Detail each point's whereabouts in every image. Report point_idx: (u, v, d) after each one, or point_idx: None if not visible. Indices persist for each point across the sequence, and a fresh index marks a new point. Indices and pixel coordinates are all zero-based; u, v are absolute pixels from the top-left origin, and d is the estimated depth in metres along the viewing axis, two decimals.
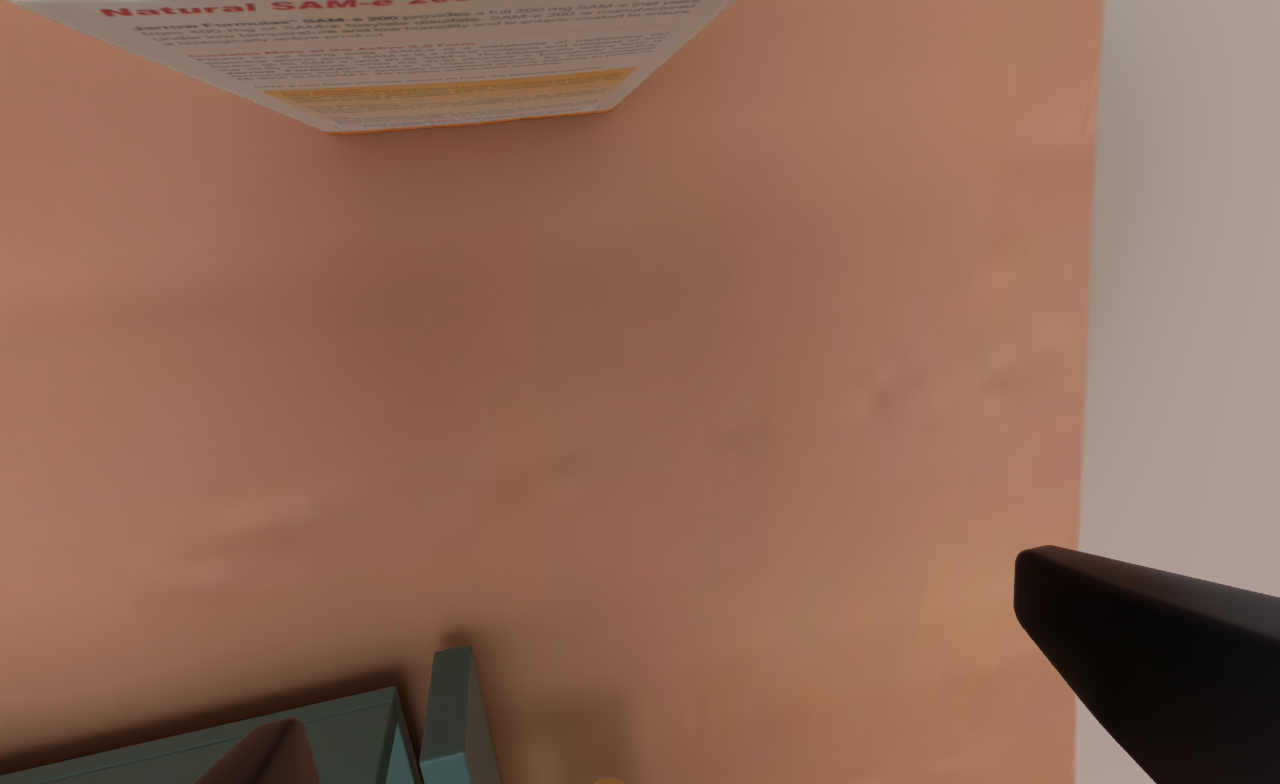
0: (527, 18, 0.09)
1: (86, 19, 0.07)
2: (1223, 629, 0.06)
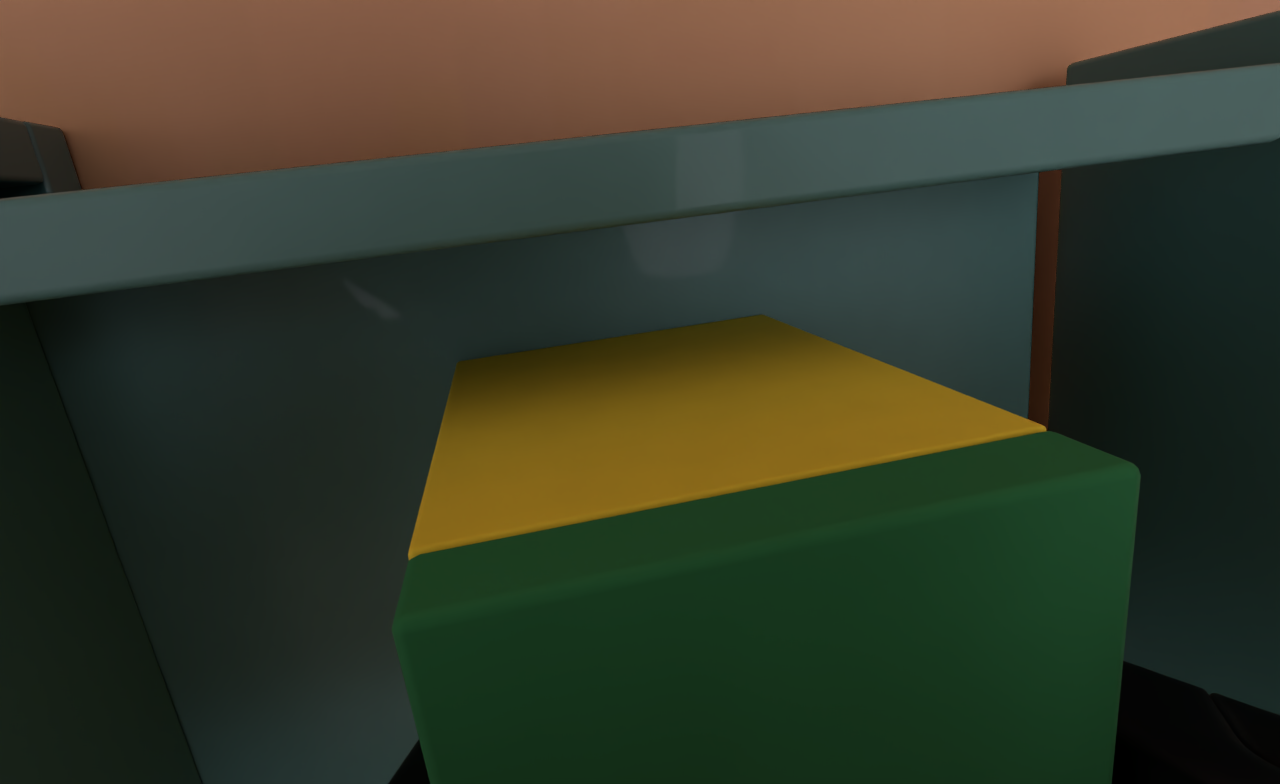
0: None
1: None
2: None
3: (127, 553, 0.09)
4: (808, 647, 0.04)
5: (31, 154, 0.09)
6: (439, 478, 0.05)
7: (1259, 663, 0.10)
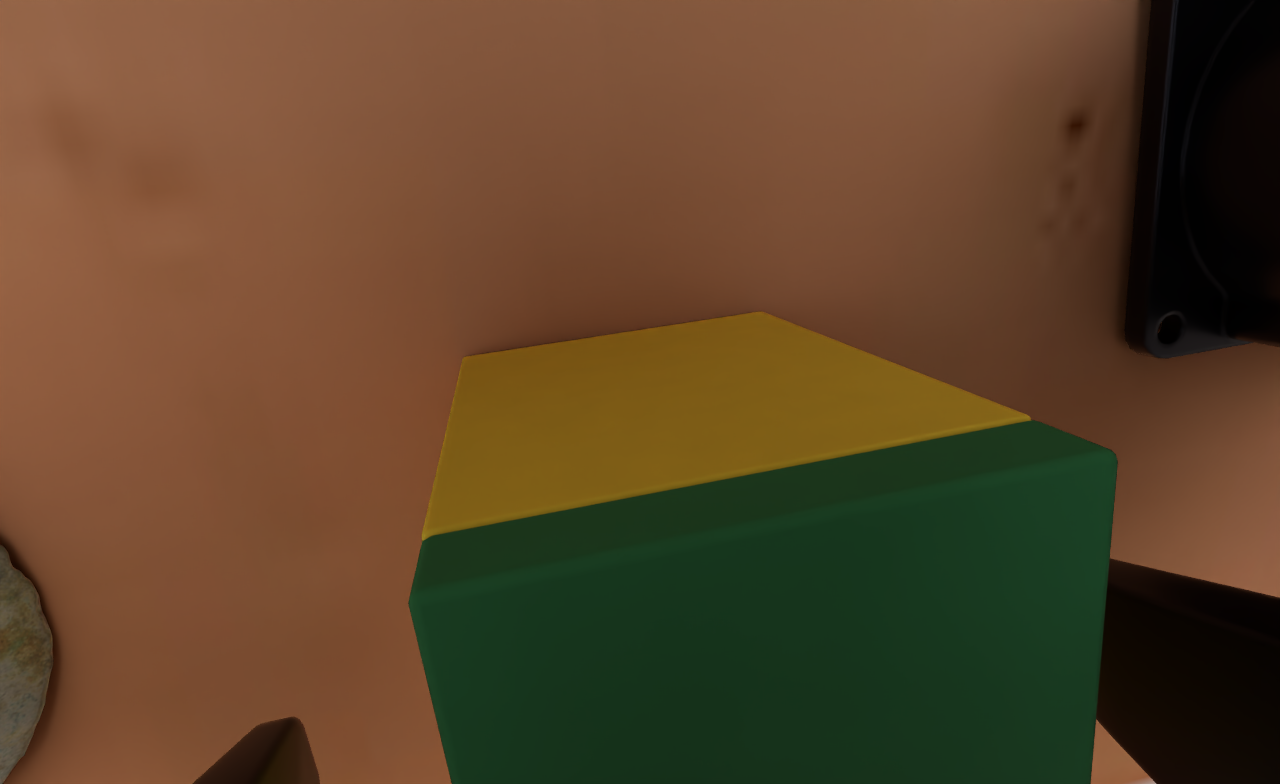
0: None
1: None
2: (1222, 629, 0.06)
3: None
4: (801, 623, 0.04)
5: None
6: (449, 466, 0.06)
7: None
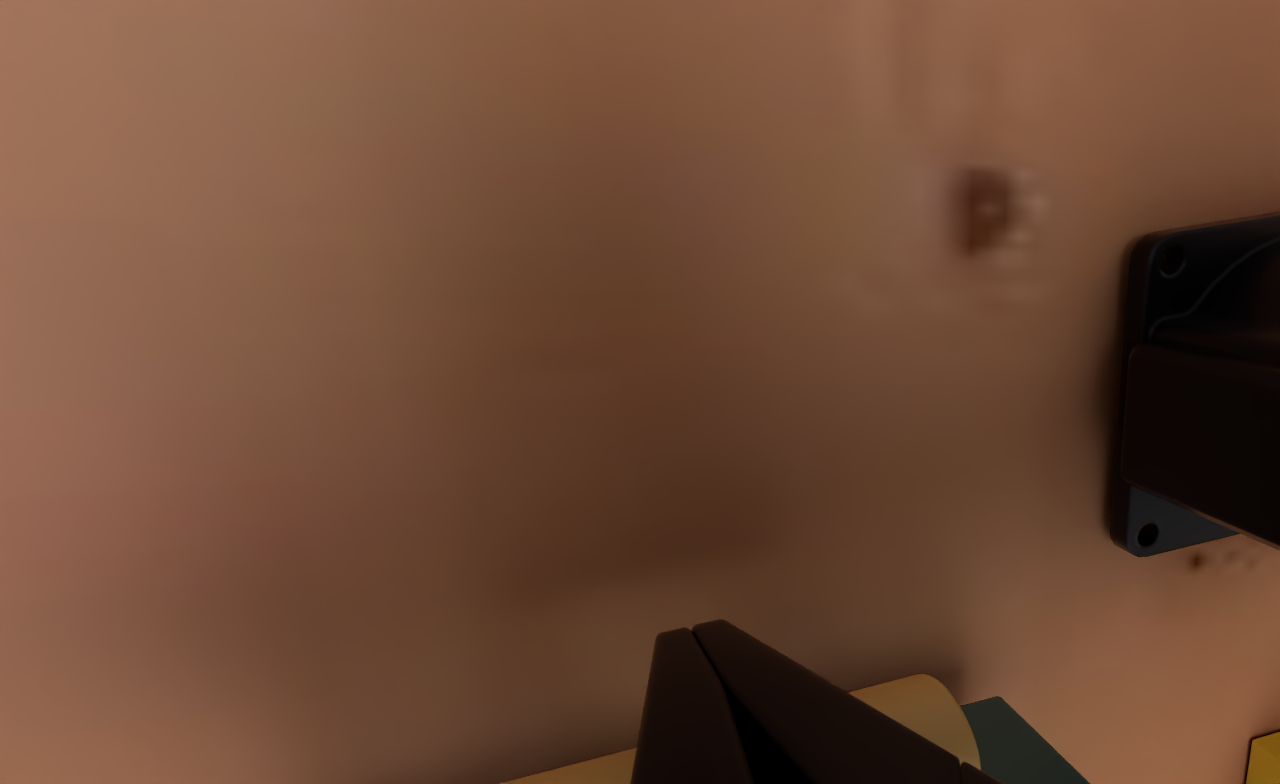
0: None
1: None
2: (781, 745, 0.06)
3: None
4: None
5: None
6: None
7: None
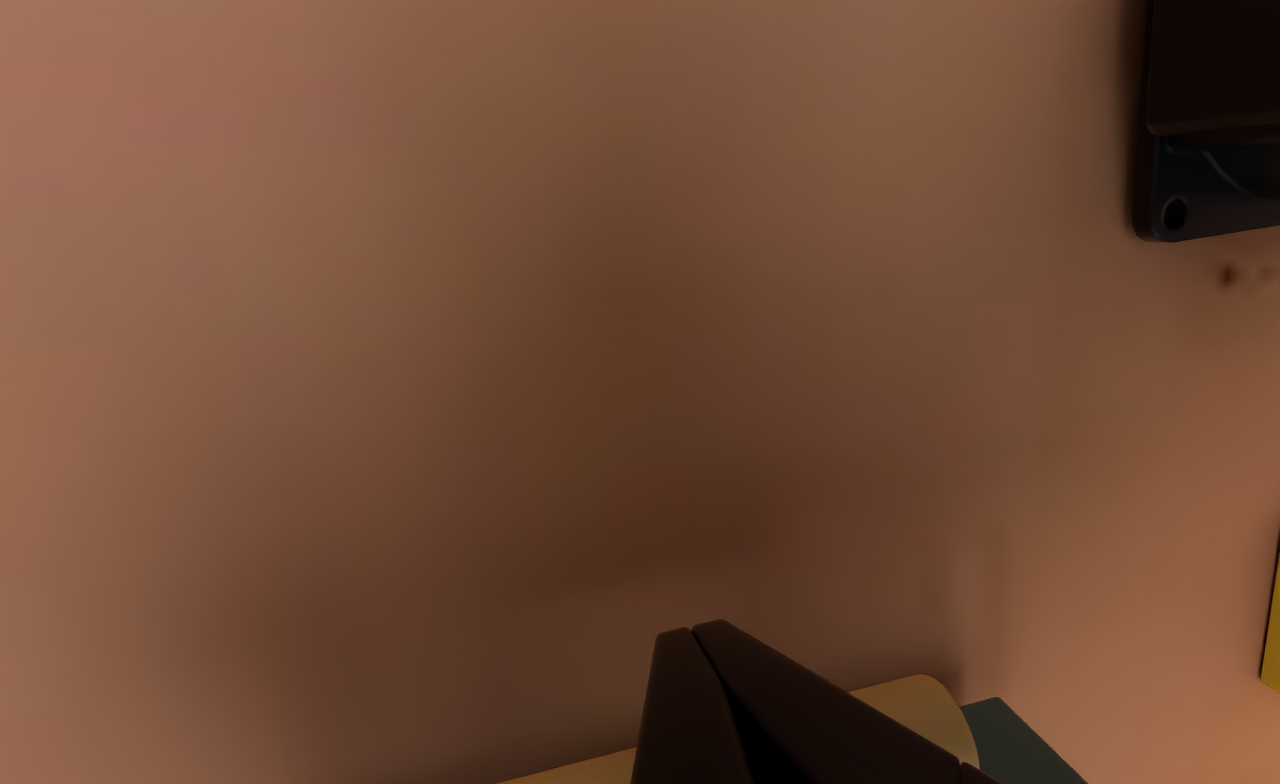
0: None
1: None
2: (782, 744, 0.06)
3: None
4: None
5: None
6: None
7: None
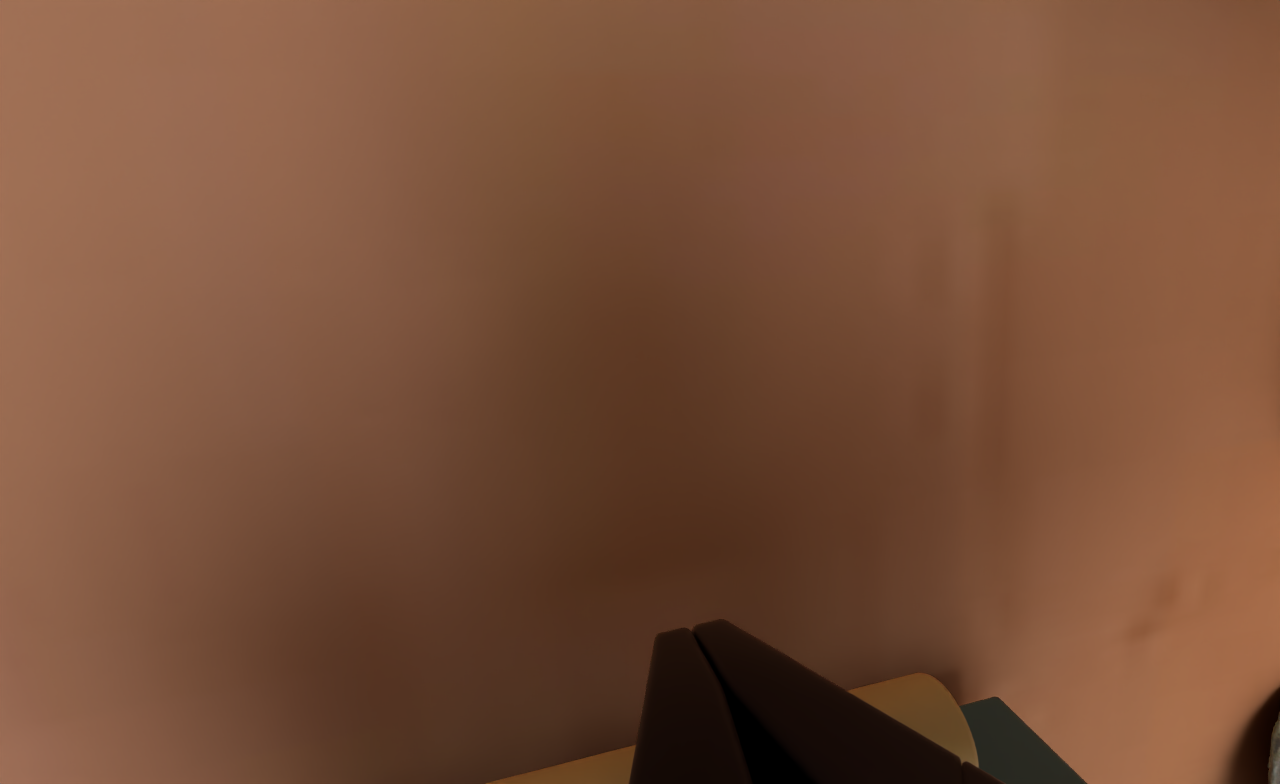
0: None
1: None
2: (783, 744, 0.06)
3: None
4: None
5: None
6: None
7: None
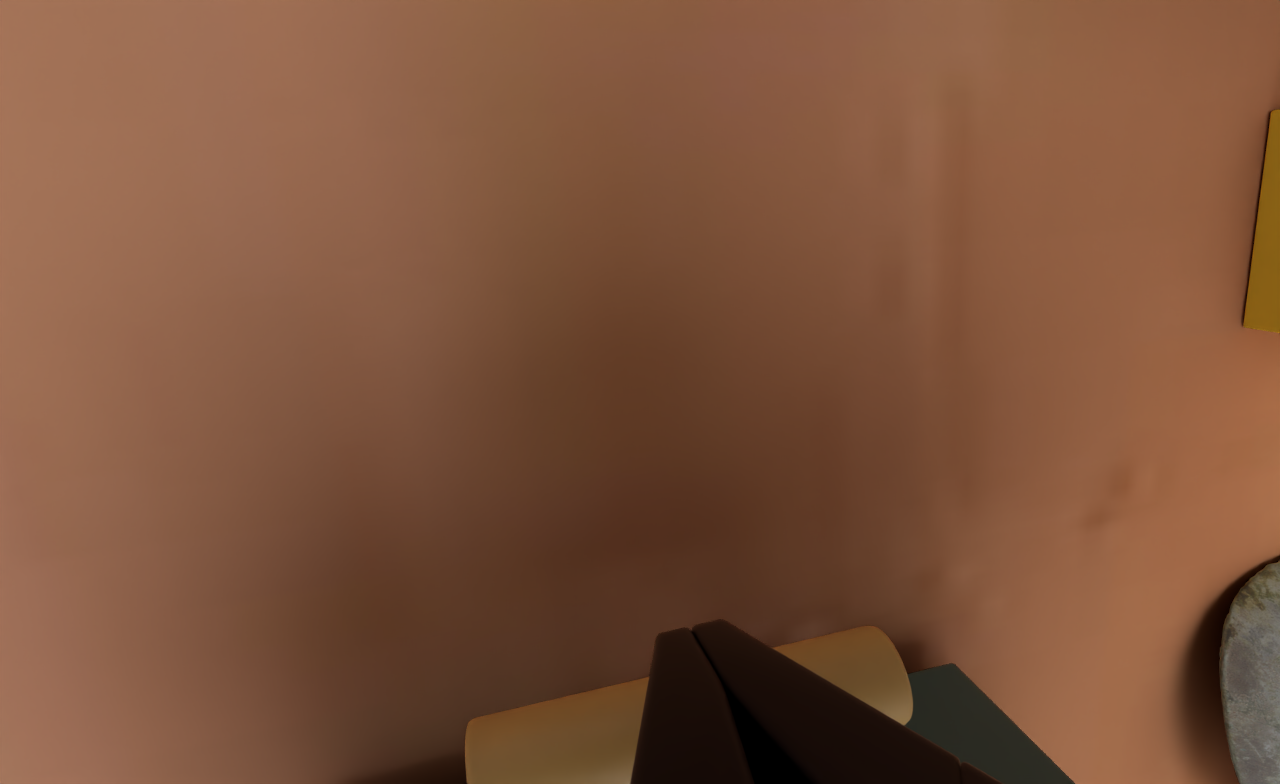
0: None
1: None
2: (781, 744, 0.06)
3: None
4: None
5: None
6: None
7: None
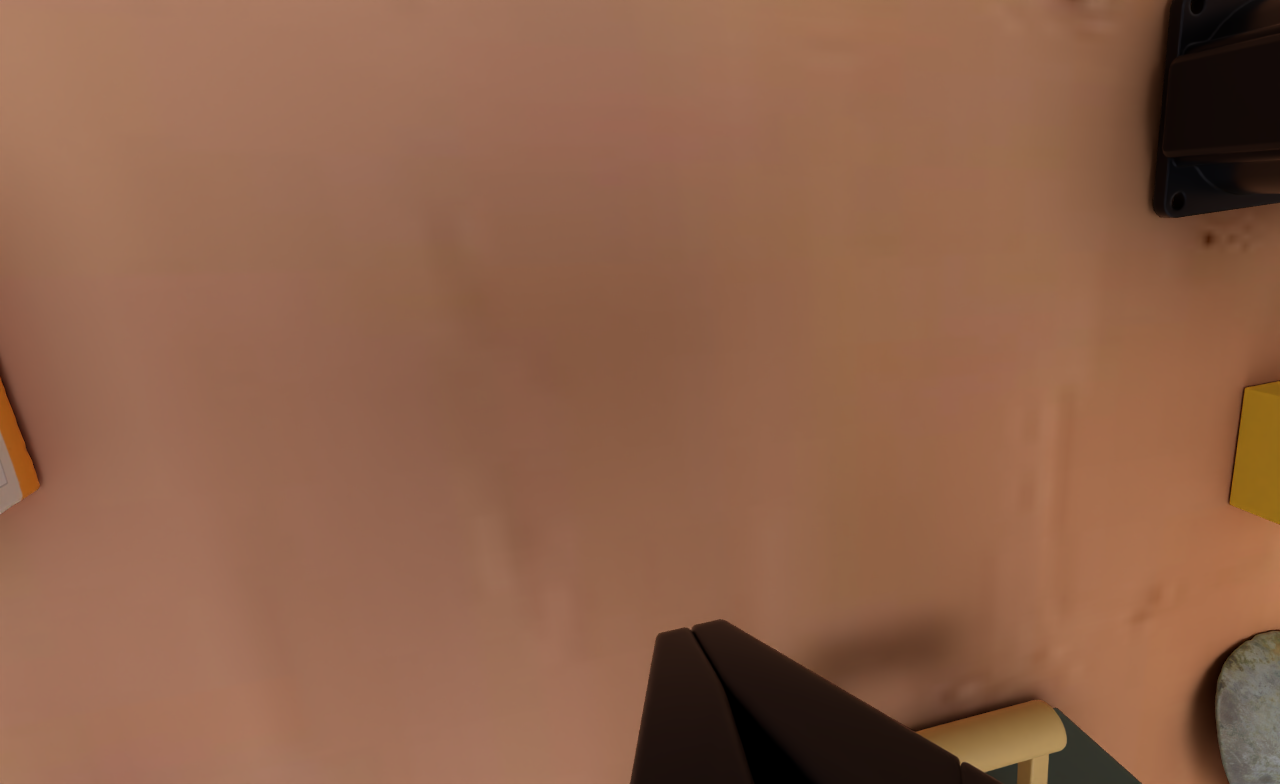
0: None
1: None
2: (782, 744, 0.06)
3: None
4: None
5: None
6: None
7: None
